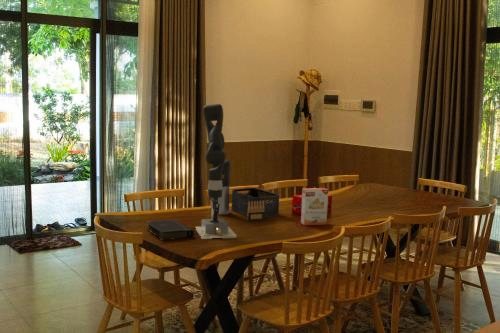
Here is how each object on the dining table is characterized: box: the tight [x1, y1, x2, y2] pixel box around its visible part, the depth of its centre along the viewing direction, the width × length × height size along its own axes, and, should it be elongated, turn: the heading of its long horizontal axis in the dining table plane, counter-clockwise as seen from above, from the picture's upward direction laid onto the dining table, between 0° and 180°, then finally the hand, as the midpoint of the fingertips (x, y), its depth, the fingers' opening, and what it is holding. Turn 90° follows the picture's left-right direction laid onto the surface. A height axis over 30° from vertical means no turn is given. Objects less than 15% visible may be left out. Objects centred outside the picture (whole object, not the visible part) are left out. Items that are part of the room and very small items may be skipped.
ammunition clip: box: [246, 200, 266, 222], centre depth 331 cm, size 11×2×12 cm, turn 111°
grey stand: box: [195, 218, 238, 240], centre depth 300 cm, size 22×18×6 cm
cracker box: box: [300, 187, 329, 226], centre depth 325 cm, size 14×6×21 cm, turn 105°
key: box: [210, 204, 219, 223], centre depth 302 cm, size 4×4×12 cm
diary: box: [146, 219, 195, 239], centre depth 298 cm, size 19×25×5 cm
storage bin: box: [231, 187, 280, 218], centre depth 351 cm, size 29×19×13 cm
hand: (214, 219), depth 302 cm, fingers closed on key, 3 cm apart
